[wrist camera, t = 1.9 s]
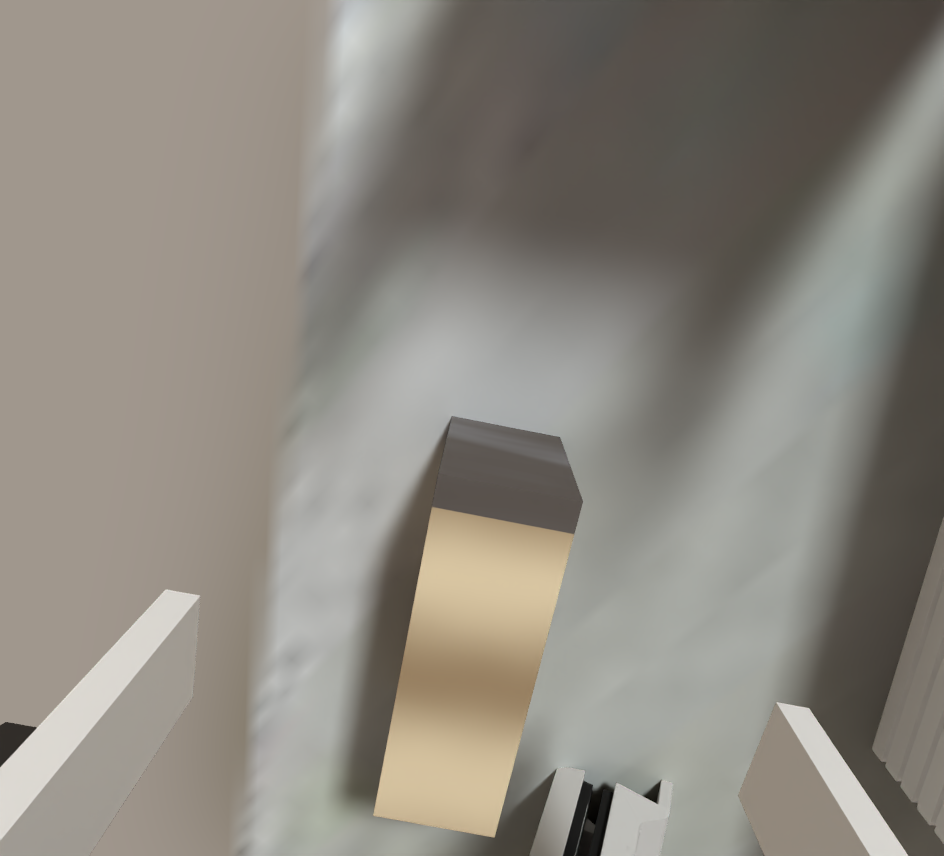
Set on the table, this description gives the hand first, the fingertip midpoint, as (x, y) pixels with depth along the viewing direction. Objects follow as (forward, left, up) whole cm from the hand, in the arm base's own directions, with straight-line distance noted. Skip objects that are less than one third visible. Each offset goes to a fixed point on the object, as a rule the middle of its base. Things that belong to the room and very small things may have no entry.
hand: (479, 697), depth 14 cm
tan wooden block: (-2, 0, -10) cm, 10 cm away
